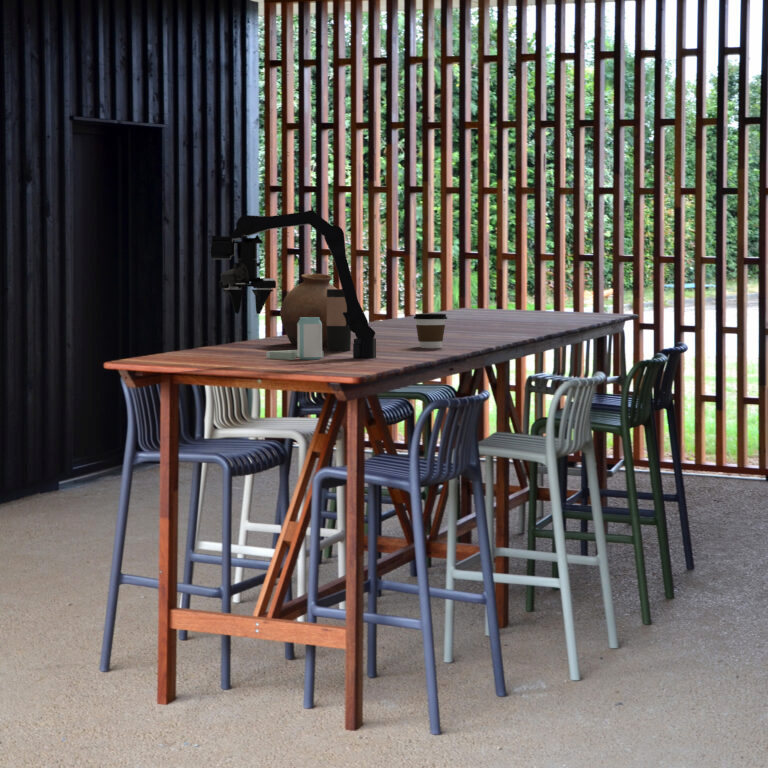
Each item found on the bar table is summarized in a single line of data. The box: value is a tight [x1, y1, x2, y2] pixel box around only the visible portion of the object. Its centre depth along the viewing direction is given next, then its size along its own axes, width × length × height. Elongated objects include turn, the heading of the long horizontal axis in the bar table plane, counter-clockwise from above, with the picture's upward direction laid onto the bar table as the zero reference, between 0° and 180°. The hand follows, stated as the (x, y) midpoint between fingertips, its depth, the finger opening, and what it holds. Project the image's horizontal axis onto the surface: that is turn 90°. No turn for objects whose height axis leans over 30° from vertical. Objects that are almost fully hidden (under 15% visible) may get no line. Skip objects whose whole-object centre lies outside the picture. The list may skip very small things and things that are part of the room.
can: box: [297, 317, 323, 361], centre depth 364 cm, size 7×7×12 cm
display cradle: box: [265, 349, 325, 361], centre depth 368 cm, size 13×10×2 cm
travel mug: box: [326, 288, 352, 352], centre depth 395 cm, size 8×8×20 cm
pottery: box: [279, 273, 338, 348], centre depth 411 cm, size 23×23×25 cm
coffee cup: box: [413, 313, 448, 349], centre depth 408 cm, size 11×11×12 cm
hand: (247, 313), depth 366 cm, fingers open, 9 cm apart
